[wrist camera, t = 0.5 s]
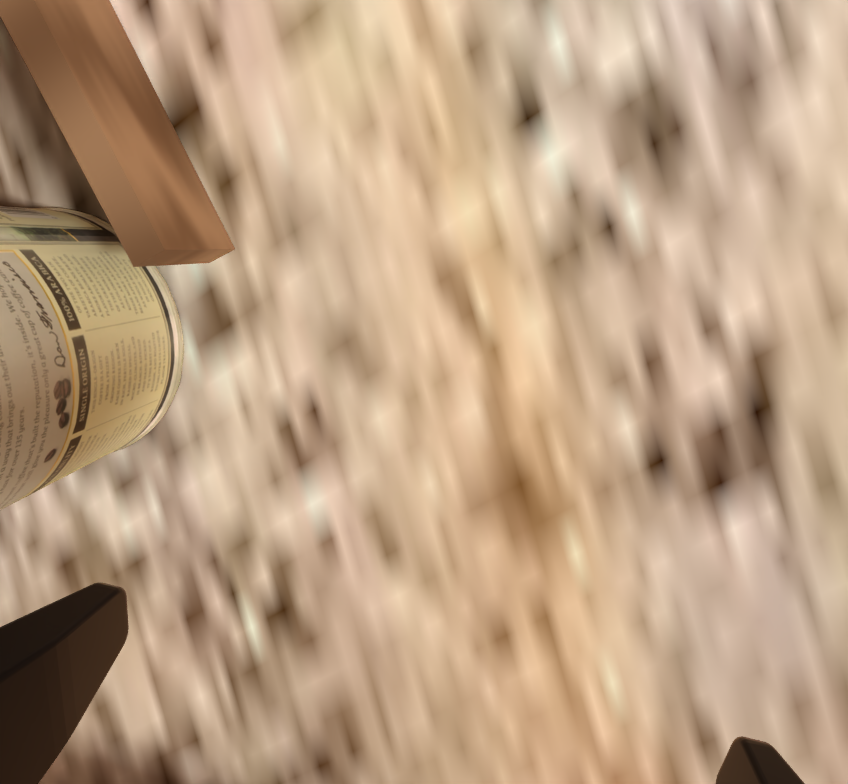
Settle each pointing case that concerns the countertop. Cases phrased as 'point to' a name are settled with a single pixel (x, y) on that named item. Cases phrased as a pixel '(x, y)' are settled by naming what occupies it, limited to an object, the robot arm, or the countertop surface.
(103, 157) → the brown tray
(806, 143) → the countertop surface
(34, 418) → the coffee can
